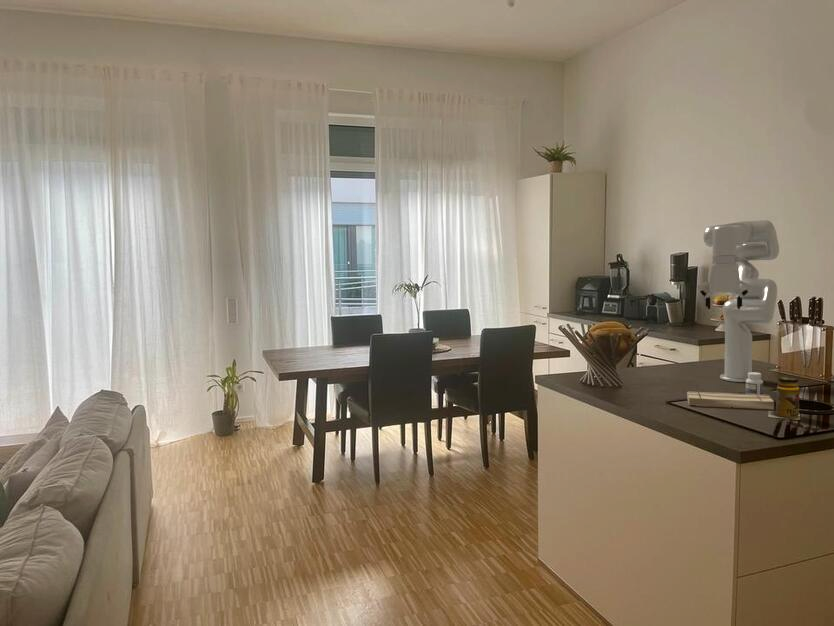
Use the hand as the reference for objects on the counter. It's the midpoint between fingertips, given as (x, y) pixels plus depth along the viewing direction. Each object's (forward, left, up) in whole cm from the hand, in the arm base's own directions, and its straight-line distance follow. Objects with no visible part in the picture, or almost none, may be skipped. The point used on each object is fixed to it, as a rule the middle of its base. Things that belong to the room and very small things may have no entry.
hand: (723, 308), depth 225 cm
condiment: (+31, +14, -31) cm, 46 cm away
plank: (+19, 0, -30) cm, 36 cm away
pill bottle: (+9, +9, -31) cm, 33 cm away
